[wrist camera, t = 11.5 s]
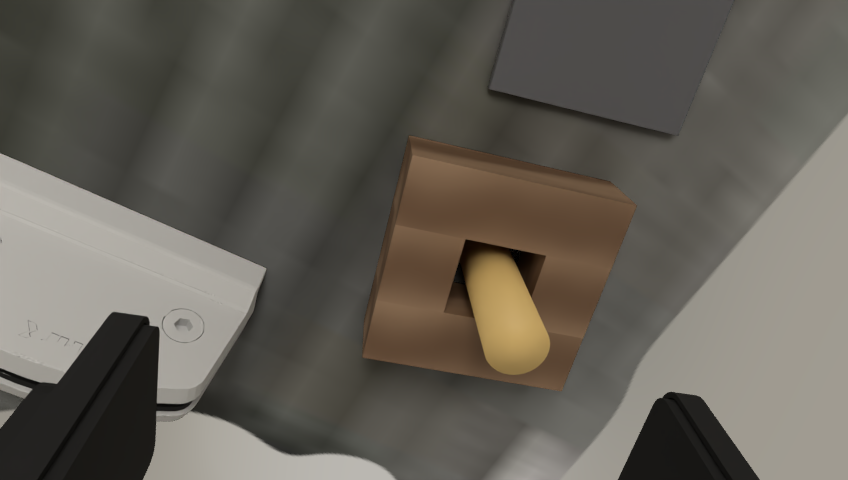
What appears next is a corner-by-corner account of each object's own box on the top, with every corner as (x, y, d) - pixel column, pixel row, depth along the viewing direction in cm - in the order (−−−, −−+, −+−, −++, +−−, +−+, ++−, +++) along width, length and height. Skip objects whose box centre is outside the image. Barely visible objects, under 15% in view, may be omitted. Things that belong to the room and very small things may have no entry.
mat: (554, -146, 29) (557, -148, 28) (760, -80, 30) (767, -81, 30) (487, 87, 33) (489, 89, 32) (673, 133, 34) (678, 135, 34)
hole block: (409, 135, 33) (412, 155, 30) (610, 181, 35) (637, 205, 32) (363, 320, 38) (362, 357, 34) (544, 352, 40) (561, 391, 36)
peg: (466, 225, 36) (495, 312, 27) (514, 236, 36) (559, 325, 27) (452, 270, 37) (476, 368, 28) (499, 279, 37) (537, 379, 28)
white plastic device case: (272, 271, 36) (212, 418, 29) (249, 315, 39) (188, 459, 32) (-25, 142, 32) (-187, 274, 25) (-27, 202, 35) (-173, 337, 27)
